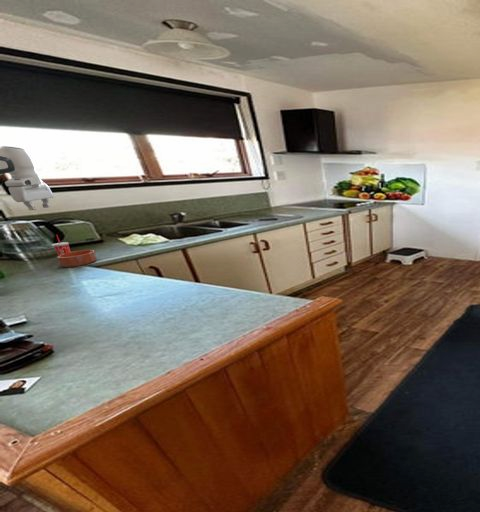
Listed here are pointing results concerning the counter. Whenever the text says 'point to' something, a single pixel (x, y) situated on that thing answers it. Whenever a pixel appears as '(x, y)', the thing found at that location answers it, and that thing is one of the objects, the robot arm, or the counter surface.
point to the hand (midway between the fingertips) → (39, 208)
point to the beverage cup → (61, 247)
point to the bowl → (77, 258)
